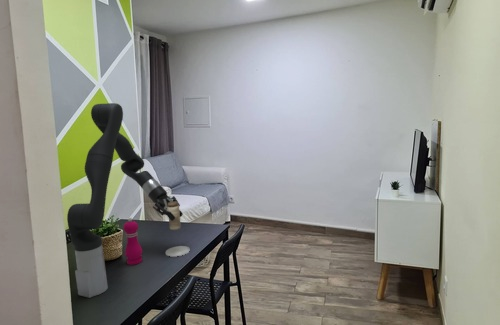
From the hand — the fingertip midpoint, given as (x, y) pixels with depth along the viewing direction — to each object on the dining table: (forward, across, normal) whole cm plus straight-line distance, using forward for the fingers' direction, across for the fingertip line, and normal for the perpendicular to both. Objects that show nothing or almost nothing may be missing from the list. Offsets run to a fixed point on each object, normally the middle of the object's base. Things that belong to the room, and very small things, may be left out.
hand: (177, 217), depth 160 cm
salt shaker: (+2, 0, +5) cm, 5 cm away
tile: (+11, 0, +13) cm, 17 cm away
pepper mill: (+2, -15, +22) cm, 26 cm away
